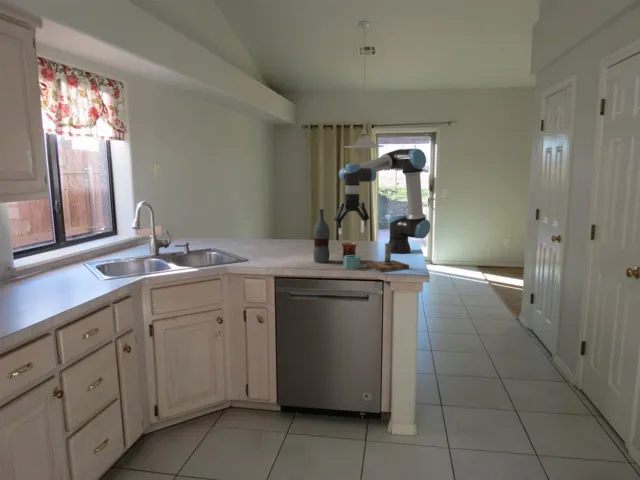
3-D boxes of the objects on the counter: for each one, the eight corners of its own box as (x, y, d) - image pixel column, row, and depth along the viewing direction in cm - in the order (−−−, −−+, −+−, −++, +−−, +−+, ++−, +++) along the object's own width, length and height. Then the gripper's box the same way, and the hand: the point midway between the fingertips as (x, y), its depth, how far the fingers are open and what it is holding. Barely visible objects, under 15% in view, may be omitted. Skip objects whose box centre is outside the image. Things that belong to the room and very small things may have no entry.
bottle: (326, 263, 254) (326, 210, 250) (311, 262, 258) (310, 210, 253) (331, 260, 263) (331, 209, 258) (316, 259, 266) (316, 208, 261)
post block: (393, 263, 255) (394, 240, 252) (409, 268, 242) (409, 244, 240) (366, 266, 247) (366, 243, 245) (380, 272, 234) (381, 247, 232)
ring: (354, 265, 251) (354, 254, 250) (362, 268, 243) (362, 257, 242) (341, 266, 247) (341, 255, 246) (348, 269, 240) (348, 258, 239)
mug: (342, 259, 267) (342, 242, 265) (357, 259, 265) (357, 242, 263) (339, 263, 255) (339, 245, 254) (355, 264, 253) (355, 246, 252)
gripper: (368, 192, 248) (368, 231, 251) (328, 193, 237) (327, 233, 240) (376, 193, 241) (375, 232, 244) (334, 194, 230) (334, 235, 234)
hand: (351, 233), depth 242 cm, fingers open, 13 cm apart
